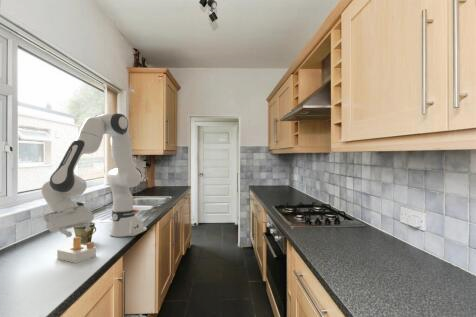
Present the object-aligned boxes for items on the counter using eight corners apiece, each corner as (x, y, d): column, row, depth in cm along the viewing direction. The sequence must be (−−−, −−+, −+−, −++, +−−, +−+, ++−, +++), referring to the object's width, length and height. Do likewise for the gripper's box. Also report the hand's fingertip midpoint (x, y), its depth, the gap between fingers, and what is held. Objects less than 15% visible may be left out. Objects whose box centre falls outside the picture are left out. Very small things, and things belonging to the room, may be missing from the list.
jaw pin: (77, 255, 128) (77, 236, 128) (82, 256, 127) (82, 237, 127) (71, 257, 125) (71, 238, 125) (76, 259, 124) (76, 238, 124)
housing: (77, 251, 133) (77, 239, 133) (95, 255, 128) (96, 242, 128) (57, 258, 124) (57, 245, 124) (76, 263, 119) (76, 249, 119)
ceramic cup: (68, 244, 144) (68, 225, 144) (85, 239, 153) (85, 221, 153) (87, 247, 139) (87, 228, 139) (103, 242, 149) (103, 223, 149)
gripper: (45, 210, 119) (60, 235, 116) (87, 202, 138) (101, 223, 135) (38, 219, 121) (53, 244, 118) (81, 210, 140) (95, 231, 136)
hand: (79, 233), depth 126 cm, fingers open, 8 cm apart
